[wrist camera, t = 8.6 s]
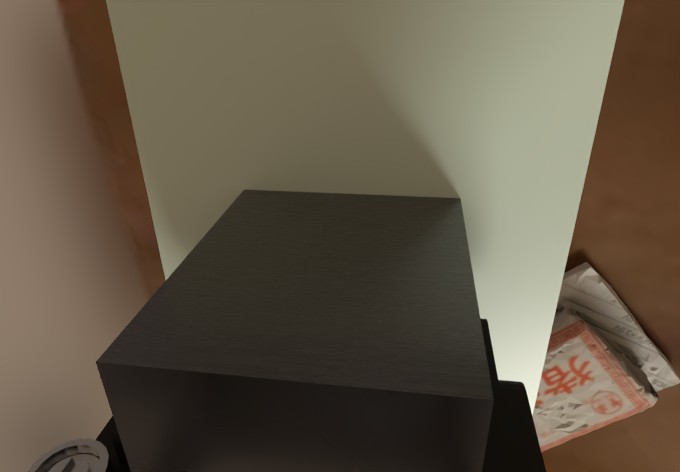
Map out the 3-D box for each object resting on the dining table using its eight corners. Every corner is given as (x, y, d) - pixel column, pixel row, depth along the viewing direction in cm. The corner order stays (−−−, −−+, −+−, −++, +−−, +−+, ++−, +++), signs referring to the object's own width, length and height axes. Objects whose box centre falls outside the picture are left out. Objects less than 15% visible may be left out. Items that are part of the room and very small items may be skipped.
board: (609, -35, 10) (967, -62, 3) (501, 497, 17) (547, 806, 11) (131, -24, 11) (-262, -26, 5) (223, 462, 18) (117, 716, 12)
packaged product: (442, 523, 34) (347, 436, 32) (441, 464, 39) (357, 383, 36) (710, 424, 27) (612, 300, 25) (673, 363, 31) (585, 253, 29)
